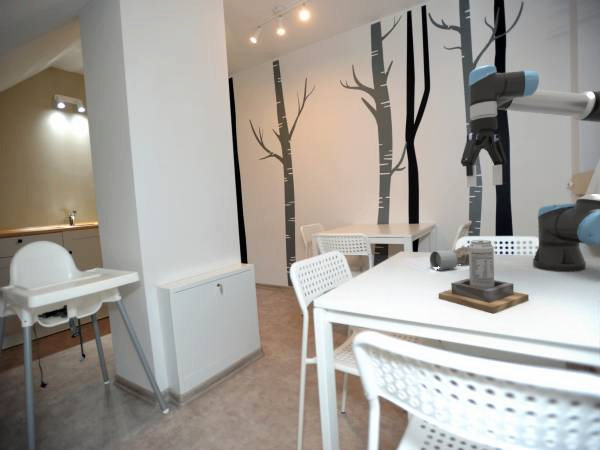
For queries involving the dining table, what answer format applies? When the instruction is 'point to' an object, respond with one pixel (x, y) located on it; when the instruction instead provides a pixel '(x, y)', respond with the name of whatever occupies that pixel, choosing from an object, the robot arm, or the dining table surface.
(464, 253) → the seashell
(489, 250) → the energy drink can
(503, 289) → the board
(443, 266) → the ceramic mug
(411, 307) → the dining table surface
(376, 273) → the dining table surface
